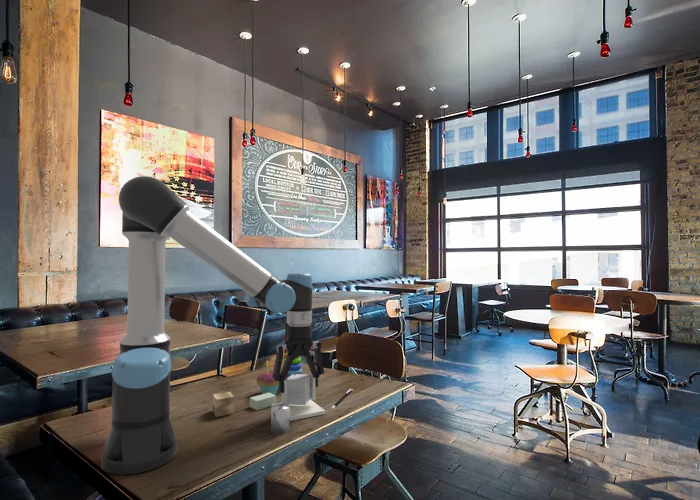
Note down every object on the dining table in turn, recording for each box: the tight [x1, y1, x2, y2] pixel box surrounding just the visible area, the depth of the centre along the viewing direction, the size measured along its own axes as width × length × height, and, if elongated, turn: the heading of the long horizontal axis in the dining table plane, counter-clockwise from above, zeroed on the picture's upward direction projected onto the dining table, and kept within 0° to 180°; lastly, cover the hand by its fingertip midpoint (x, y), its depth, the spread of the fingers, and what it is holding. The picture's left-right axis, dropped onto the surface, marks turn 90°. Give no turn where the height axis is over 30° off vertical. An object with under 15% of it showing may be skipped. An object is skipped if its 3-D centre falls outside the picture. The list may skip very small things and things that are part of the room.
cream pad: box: [272, 399, 326, 422], centre depth 120 cm, size 12×12×1 cm
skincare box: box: [286, 373, 312, 405], centre depth 120 cm, size 6×6×7 cm
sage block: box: [249, 393, 277, 411], centre depth 124 cm, size 7×4×3 cm, turn 136°
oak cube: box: [212, 391, 235, 418], centre depth 118 cm, size 5×5×5 cm
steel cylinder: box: [270, 402, 291, 434], centre depth 107 cm, size 5×5×6 cm
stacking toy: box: [282, 336, 303, 381], centre depth 144 cm, size 8×8×19 cm
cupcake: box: [256, 360, 279, 395], centre depth 135 cm, size 9×8×12 cm
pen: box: [331, 388, 353, 410], centre depth 131 cm, size 1×19×1 cm, turn 161°
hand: (298, 400), depth 120 cm, fingers closed on skincare box, 8 cm apart
